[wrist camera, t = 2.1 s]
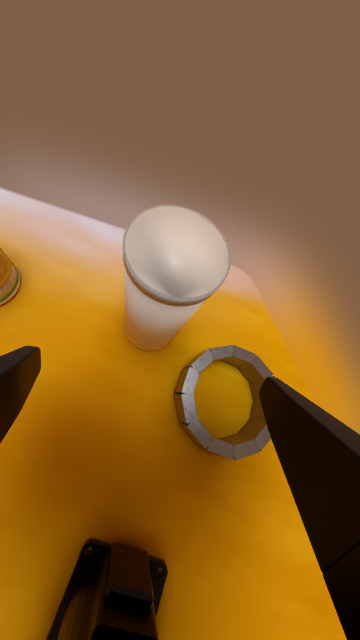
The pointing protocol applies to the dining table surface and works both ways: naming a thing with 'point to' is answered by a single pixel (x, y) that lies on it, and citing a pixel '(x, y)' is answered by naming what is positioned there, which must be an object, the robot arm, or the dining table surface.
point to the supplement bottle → (8, 278)
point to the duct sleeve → (169, 271)
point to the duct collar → (255, 429)
